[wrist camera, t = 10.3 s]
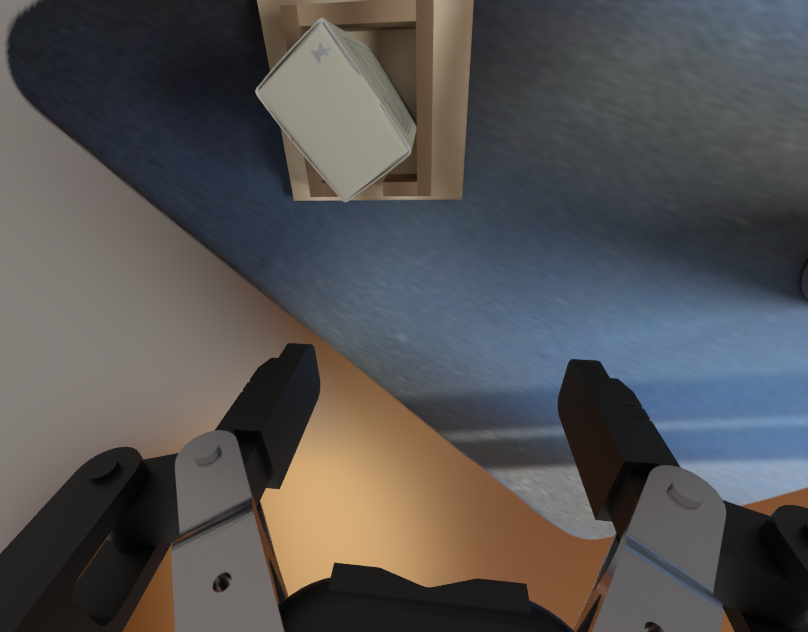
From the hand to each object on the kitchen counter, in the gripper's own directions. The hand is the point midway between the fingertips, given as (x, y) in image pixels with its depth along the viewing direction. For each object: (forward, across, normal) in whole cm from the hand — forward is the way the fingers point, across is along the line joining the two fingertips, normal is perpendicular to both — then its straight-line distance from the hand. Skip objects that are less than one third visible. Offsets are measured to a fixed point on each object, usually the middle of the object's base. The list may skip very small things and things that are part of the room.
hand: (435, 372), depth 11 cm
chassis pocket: (+22, +6, -7) cm, 24 cm away
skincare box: (+21, +5, -7) cm, 23 cm away
